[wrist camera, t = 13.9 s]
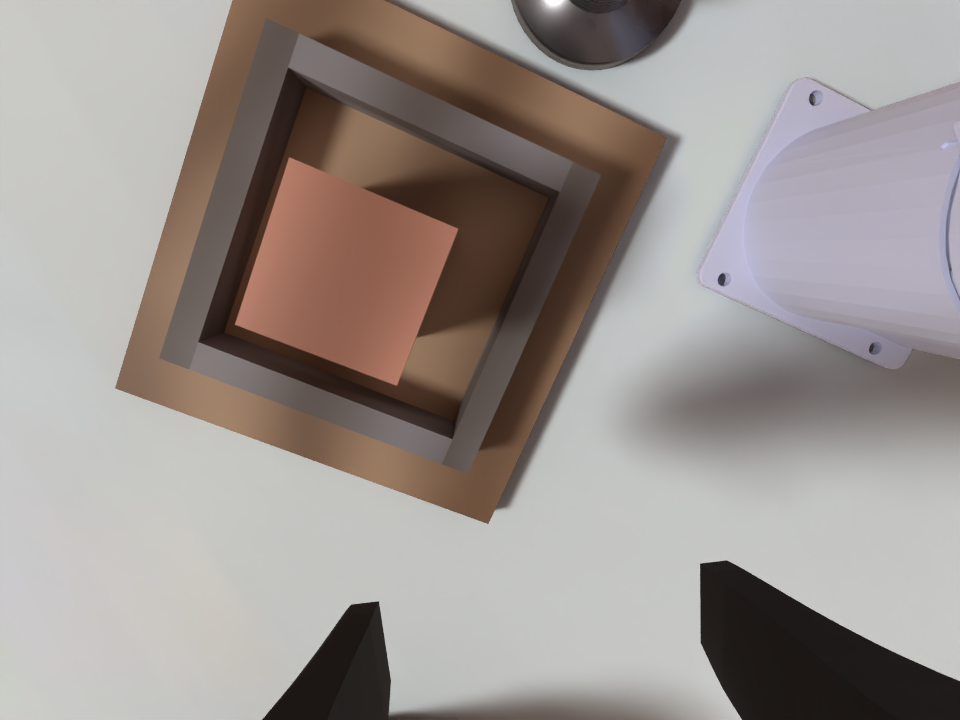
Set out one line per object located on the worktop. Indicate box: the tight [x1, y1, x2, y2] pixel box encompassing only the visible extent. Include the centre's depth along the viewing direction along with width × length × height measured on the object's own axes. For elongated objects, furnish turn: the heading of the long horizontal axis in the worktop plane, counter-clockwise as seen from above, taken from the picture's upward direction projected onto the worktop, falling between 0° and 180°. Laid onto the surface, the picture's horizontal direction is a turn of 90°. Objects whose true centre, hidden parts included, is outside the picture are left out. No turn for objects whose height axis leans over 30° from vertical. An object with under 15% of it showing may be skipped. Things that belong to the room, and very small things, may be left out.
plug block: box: [235, 157, 458, 386], centre depth 16 cm, size 4×4×7 cm
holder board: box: [115, 0, 666, 524], centre depth 19 cm, size 15×16×3 cm
